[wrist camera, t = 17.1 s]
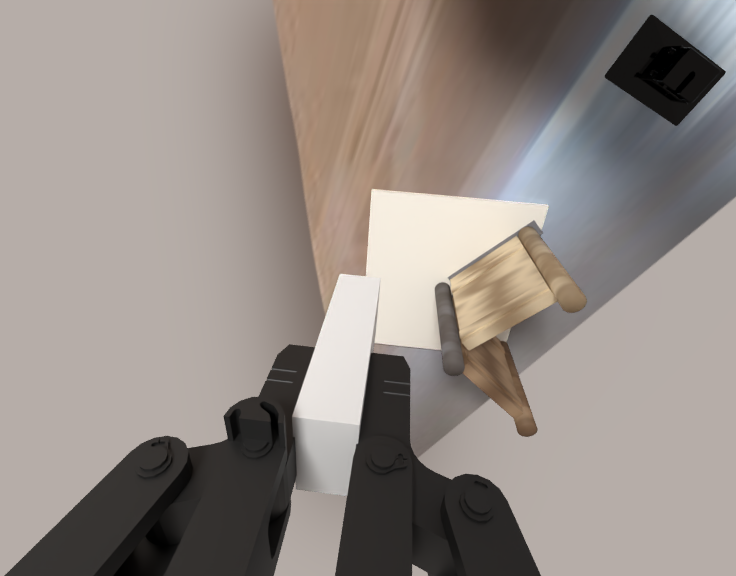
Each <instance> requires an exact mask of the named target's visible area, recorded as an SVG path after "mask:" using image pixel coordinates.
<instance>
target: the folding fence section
mask: <svg viewBox="0 0 736 576" xmlns="http://www.w3.org/2000/svg"><path fill="white" fill-rule="evenodd" d="M452 300H453V306H454V311H455V317H456V322H457V327H458V333H459V331H460V329H459V324H458V319H457V314H456V308H455V303H454V298H452ZM459 338H460V334H459ZM460 344H461V349H462V355H463V360H464V366H465V369H464V371H463V374H464V375H465V376H466V377H467V378H469V379H470V380H471V381H472V382H473V383H474V384H475V385H476V386H478V387H479V388H480V389H481V390H482V391H483V392H484V393H486V394H487V395H488V396H489V397H490V398H491V399H492V400H493V401H495V402H496V403H497V404H498V405H499V406H500V407H501V408H503V409H504V410H505V411H506V412H507V413H508V414H509V415H511V416H512V417H513V418H514V421H515V424H516V428H517V431H518V433H519V434H520V435H521V436H525V437H528V436H532V435H534V434H535V433H536V432H537V427H536V424H535V421H534V418H533V415H532V412H531V409H530V406H529V404H528V401H527V398H526V395H525V392H524V389H523V386H522V384H521V381H520V378H519V375H518V372H517V369H516V366H515V364H514V361H513V358H512V355H511V352H510V349H509V346H508V344H507V343H506V342H505V341H500V340H499V339H498V338H497V337H496V336H495V337H493V338H491V339H489V340H487V341H486V342H484V343H482V344H480V345H478V346H477V347H475V348H473V349H471V350H468V349H467V348H466V347H465V346H464V345H463V344H462V340H461V339H460Z"/></svg>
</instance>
